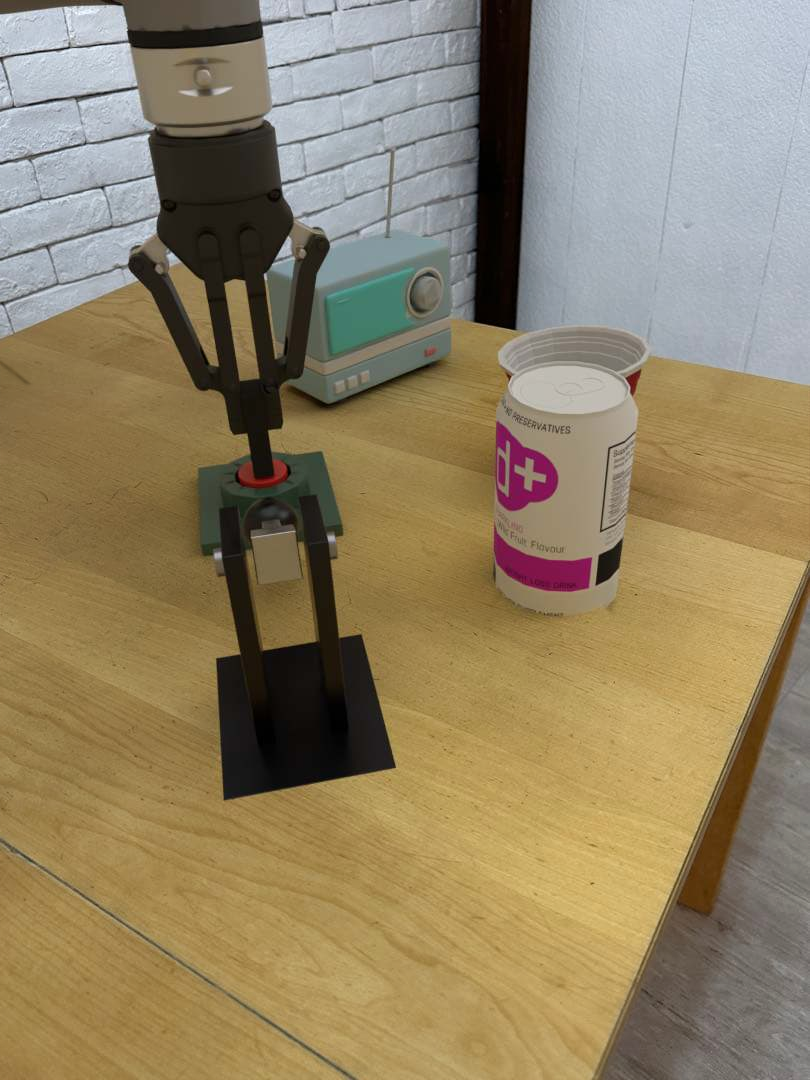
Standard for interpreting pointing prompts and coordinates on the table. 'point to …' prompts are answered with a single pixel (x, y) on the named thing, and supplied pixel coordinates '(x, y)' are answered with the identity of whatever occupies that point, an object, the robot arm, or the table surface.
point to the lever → (273, 540)
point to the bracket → (294, 681)
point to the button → (248, 477)
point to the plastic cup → (578, 350)
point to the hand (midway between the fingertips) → (263, 467)
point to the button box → (264, 493)
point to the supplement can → (562, 486)
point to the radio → (370, 311)
